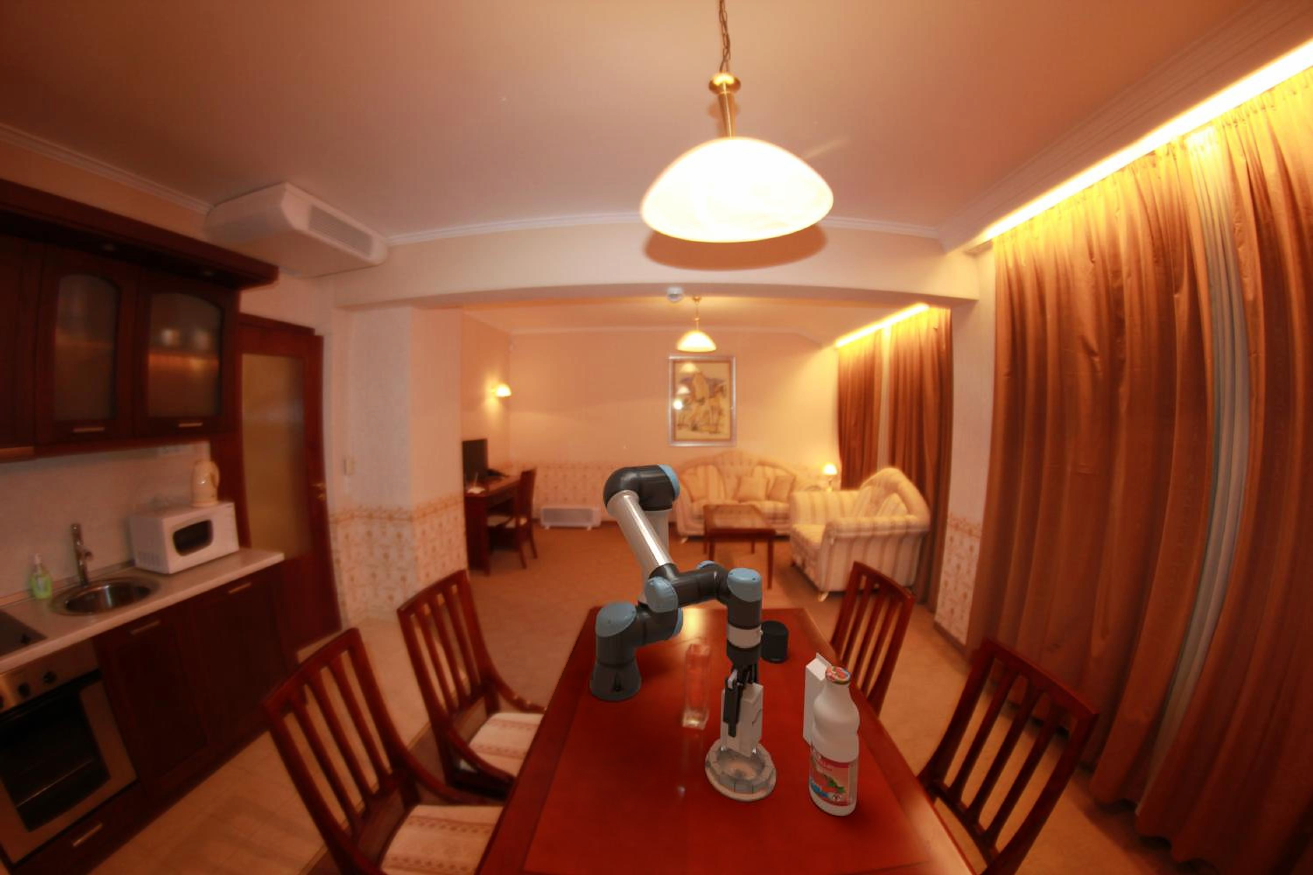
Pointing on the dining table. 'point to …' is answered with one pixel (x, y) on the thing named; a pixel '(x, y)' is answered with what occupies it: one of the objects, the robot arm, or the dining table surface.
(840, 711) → the fruit juice
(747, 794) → the silver round shallow dish
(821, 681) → the milk
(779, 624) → the black smart speaker
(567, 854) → the dining table surface
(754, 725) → the supplement box
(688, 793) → the dining table surface
